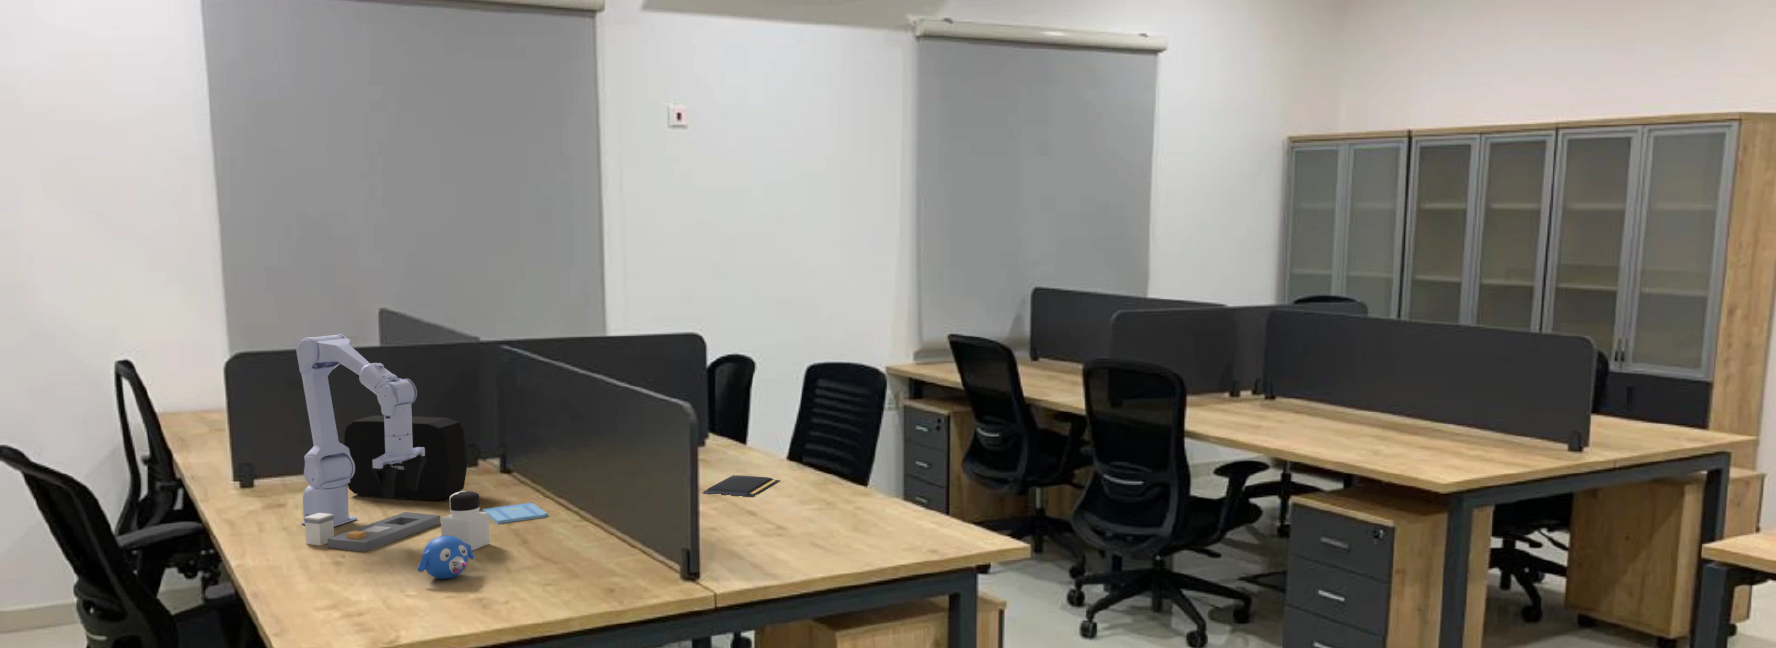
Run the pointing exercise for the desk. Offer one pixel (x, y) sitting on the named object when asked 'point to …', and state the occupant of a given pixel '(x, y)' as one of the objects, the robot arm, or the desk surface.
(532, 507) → the light blue flat rectangle
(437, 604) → the desk surface
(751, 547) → the desk surface
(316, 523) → the block
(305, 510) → the robot arm
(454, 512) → the medicine bottle
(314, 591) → the desk surface
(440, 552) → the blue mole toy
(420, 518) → the grey slab
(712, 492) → the black notebook
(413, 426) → the black hard case
